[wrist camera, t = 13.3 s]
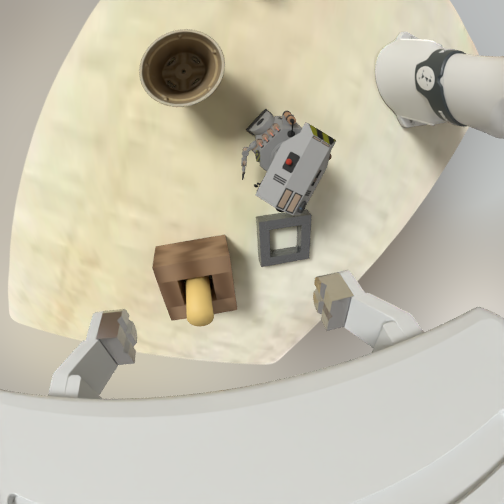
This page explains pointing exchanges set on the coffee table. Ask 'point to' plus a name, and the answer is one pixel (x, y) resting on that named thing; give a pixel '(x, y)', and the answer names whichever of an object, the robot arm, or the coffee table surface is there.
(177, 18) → the coffee table surface
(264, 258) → the collar
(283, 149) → the figurine
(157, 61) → the flower pot
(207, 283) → the pin
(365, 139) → the coffee table surface
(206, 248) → the socket
